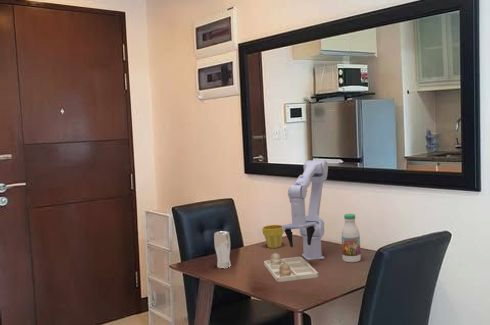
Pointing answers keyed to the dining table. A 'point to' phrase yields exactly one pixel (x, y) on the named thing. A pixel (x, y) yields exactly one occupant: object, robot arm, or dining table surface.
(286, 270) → the tan tiered dome
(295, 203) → the robot arm
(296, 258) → the white compartment tray
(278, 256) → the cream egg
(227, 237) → the beer glass
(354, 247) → the milk bottle
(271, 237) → the plant pot
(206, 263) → the dining table surface
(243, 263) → the dining table surface
